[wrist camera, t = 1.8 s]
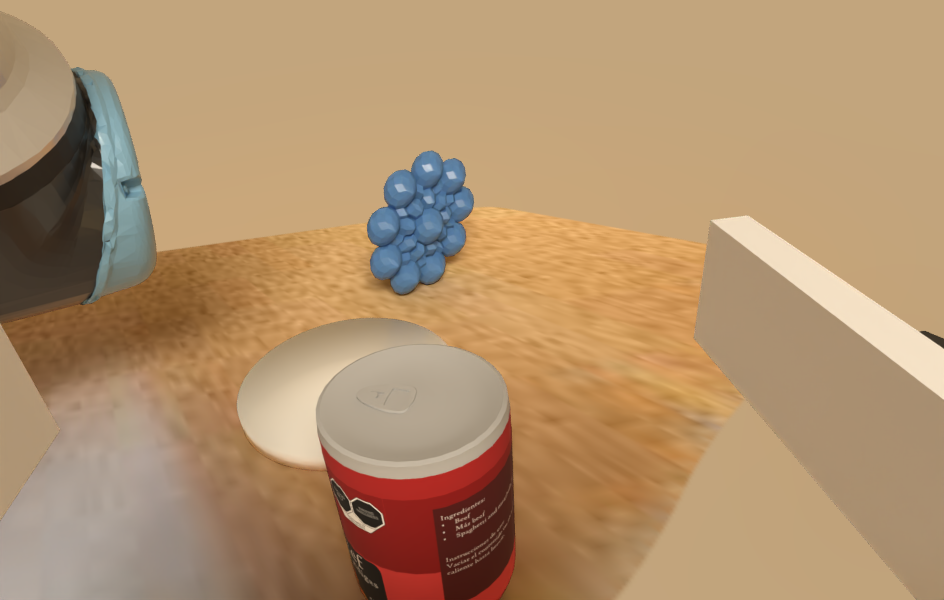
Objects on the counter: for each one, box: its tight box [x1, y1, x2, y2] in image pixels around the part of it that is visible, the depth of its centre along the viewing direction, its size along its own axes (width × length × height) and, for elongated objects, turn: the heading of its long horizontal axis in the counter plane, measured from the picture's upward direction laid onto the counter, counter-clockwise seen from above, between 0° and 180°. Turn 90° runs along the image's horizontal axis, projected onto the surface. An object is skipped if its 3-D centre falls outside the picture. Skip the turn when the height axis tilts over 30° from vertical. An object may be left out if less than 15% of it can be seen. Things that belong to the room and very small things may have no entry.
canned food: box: [316, 344, 515, 600], centre depth 27 cm, size 8×8×11 cm
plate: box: [237, 318, 448, 471], centre depth 42 cm, size 15×15×1 cm
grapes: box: [367, 151, 474, 294], centre depth 52 cm, size 12×7×12 cm, turn 134°
